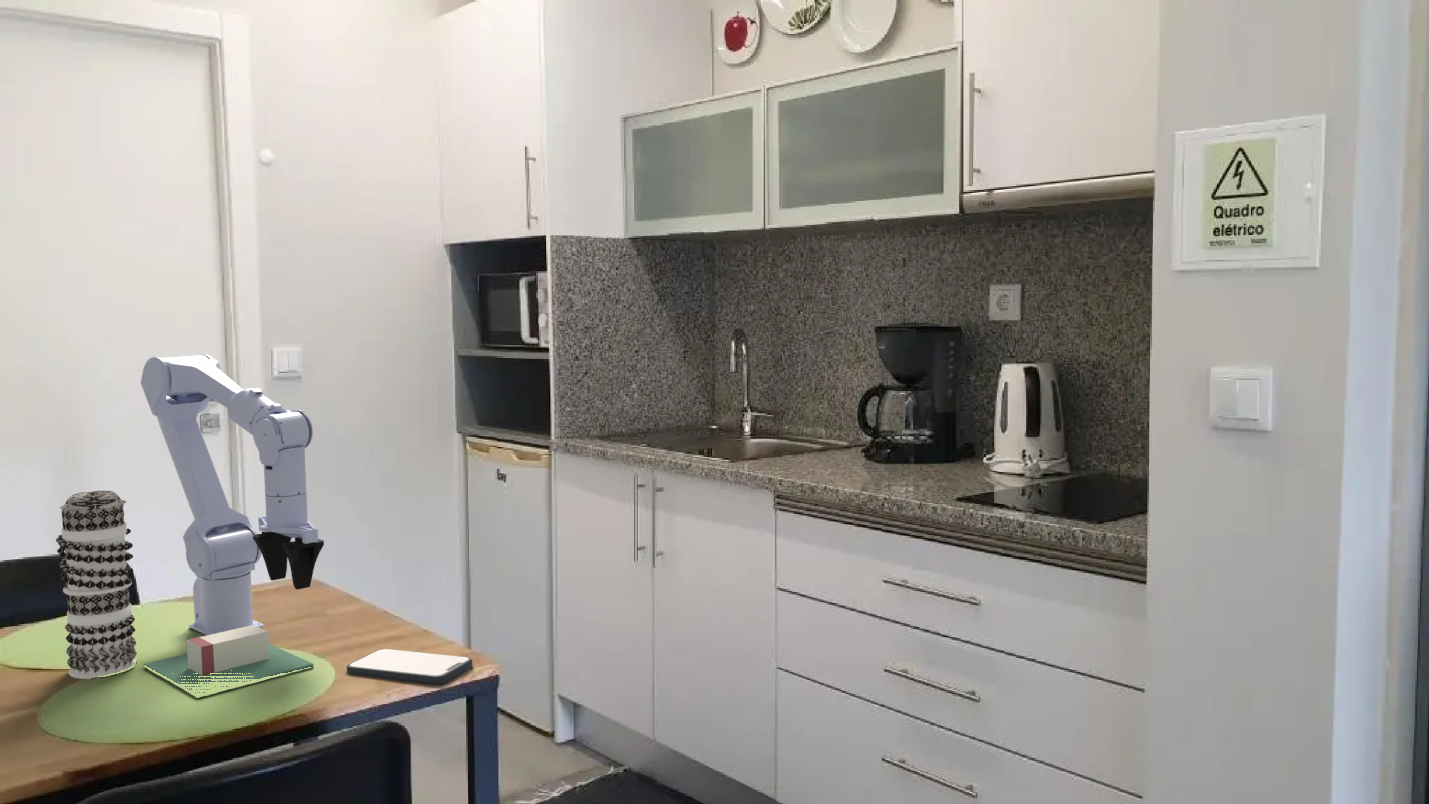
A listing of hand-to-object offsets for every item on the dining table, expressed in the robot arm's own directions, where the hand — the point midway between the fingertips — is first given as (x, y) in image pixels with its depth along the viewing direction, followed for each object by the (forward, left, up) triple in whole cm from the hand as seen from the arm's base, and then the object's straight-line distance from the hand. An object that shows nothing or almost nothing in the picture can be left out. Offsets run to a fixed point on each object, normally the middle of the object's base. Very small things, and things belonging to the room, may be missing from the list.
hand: (290, 583), depth 166 cm
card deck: (+3, -11, -9) cm, 14 cm away
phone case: (+23, +6, -10) cm, 25 cm away
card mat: (+3, -11, -9) cm, 15 cm away
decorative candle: (-10, -23, -10) cm, 27 cm away
